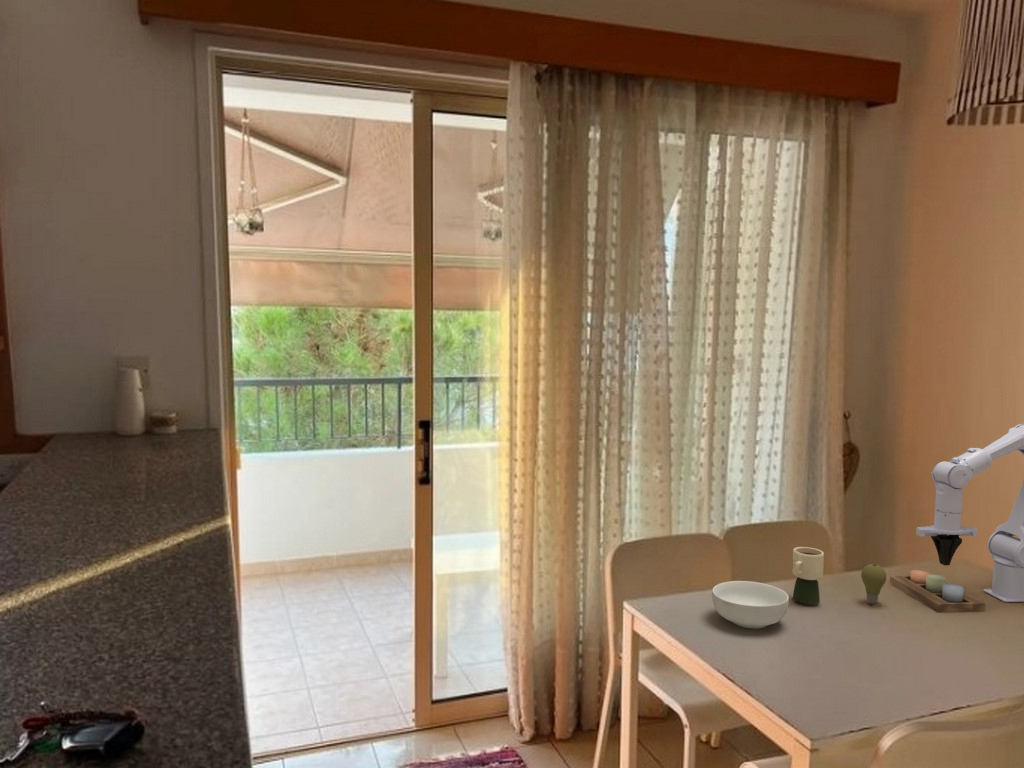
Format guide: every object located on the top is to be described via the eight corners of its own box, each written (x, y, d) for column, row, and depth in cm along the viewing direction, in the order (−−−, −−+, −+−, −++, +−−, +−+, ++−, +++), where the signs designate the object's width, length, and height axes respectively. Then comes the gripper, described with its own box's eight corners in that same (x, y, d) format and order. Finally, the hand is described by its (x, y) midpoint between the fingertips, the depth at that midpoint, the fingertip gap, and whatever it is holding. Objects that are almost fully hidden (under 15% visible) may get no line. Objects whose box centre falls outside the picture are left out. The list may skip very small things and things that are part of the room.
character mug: (804, 593, 195) (806, 543, 194) (830, 601, 189) (833, 550, 188) (780, 602, 188) (783, 551, 187) (807, 611, 182) (810, 558, 181)
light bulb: (887, 609, 185) (889, 569, 184) (862, 607, 186) (865, 567, 185) (881, 600, 190) (883, 561, 189) (857, 598, 191) (859, 560, 190)
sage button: (938, 587, 196) (938, 574, 195) (949, 593, 191) (950, 580, 191) (921, 587, 195) (922, 574, 195) (932, 594, 191) (933, 580, 191)
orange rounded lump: (922, 582, 202) (922, 569, 202) (932, 588, 198) (933, 575, 198) (906, 582, 202) (907, 570, 202) (916, 588, 198) (917, 575, 197)
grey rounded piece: (954, 596, 189) (955, 583, 189) (966, 603, 185) (967, 589, 185) (937, 597, 189) (938, 583, 189) (949, 603, 185) (950, 589, 184)
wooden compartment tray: (932, 582, 204) (933, 575, 204) (984, 611, 184) (985, 603, 184) (889, 583, 203) (890, 575, 203) (937, 612, 183) (938, 604, 183)
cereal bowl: (758, 604, 187) (759, 576, 186) (803, 632, 171) (805, 601, 170) (697, 612, 181) (698, 583, 181) (738, 640, 166) (739, 609, 165)
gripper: (965, 506, 193) (962, 558, 194) (910, 506, 192) (907, 559, 193) (984, 513, 186) (980, 567, 187) (927, 514, 185) (923, 568, 186)
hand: (944, 564), depth 190 cm, fingers closed
